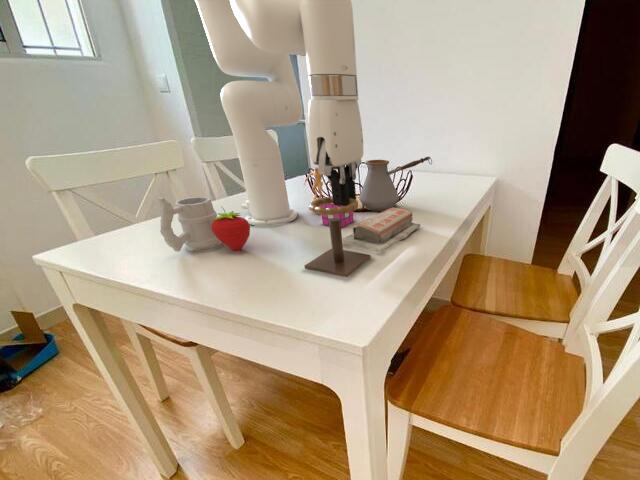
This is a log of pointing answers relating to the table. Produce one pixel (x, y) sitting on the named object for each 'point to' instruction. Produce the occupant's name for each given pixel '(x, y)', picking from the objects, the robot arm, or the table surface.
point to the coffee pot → (382, 185)
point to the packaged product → (382, 230)
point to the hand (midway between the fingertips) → (344, 202)
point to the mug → (189, 223)
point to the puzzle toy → (337, 216)
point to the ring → (332, 211)
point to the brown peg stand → (337, 255)
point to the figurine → (316, 183)
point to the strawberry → (231, 230)
